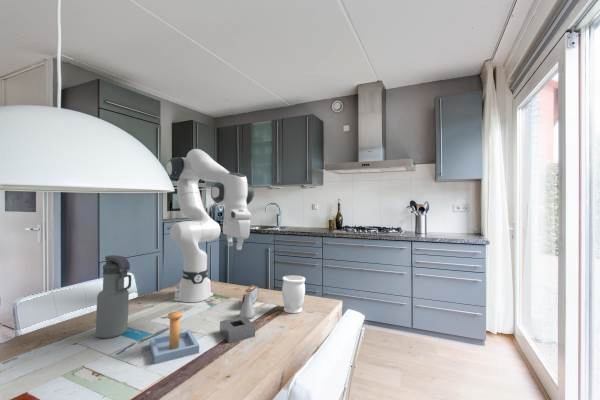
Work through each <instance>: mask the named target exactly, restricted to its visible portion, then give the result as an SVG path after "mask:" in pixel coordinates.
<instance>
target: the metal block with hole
mask: <svg viewBox="0 0 600 400" xmlns="http://www.w3.org/2000/svg"><path fill="white" fill-rule="evenodd" d="M219 333H220V334H221V335H222V336H223V338H224V339H225V341H227V343H228V344H229V343H230V342H231V343H235V342H239V341H242V340H246V339H249V338H254V337H256V325H255V324H254V323H253V322H252V321H251V320H250V319H247V318H246V317H245V316H243V317H239V316H238V317H235V318H234V317H233V318H229V319H225V320H220V321H219ZM234 341H235V342H234Z"/></svg>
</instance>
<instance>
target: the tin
mask: <svg viewBox="0 0 600 400" xmlns="http://www.w3.org/2000/svg"><path fill="white" fill-rule="evenodd" d="M245 292H251V302H252V305H254V304H256V302H257V300H258V297H259V286H258V285H254V284H252V285H251V286H249V287H248V288H247V289H245ZM245 292H244V293H245ZM244 299H245V295H244V294H243V295H242V301H241V302H242V304H241V305H243V303H244Z"/></svg>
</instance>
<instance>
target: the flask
mask: <svg viewBox="0 0 600 400" xmlns="http://www.w3.org/2000/svg"><path fill="white" fill-rule="evenodd" d="M244 295H245V299H244V303H243V304H242V306H241V309H240V311H239V315H238V317H243V316H245V317H246V318H247V319H248V320H250V319H253V318H255V317H256V313H255V312H256V311H255V310H254V307H253V305H254V304H253V305H252V302H251V292H244V293H243V296H244Z"/></svg>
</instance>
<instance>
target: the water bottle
mask: <svg viewBox="0 0 600 400" xmlns="http://www.w3.org/2000/svg"><path fill="white" fill-rule="evenodd" d="M104 261H105V264H104V265H102V275H103V276H102V290H100V292H99V293H97V295H96V296H97V297H96V315H95V316H96V321H95V335H96V337H97V338H99V339H113V338H116V337H119V336H121V335H124V334H125V332H127V330H128V327H129V326H128V325H129V324H128V322H129V299H130V298H129V297H130V296H129V295H130V294H129V293H130V292H129V289H130V288H131V287H132V275H131V274H128V271H129V270H130V268H131V265H130V262H129V260H128V258H127V257H125V256H123V255H122V256H121V255H116V254H115V255H114V254H113V255H106V256H105V257H104ZM125 278H128V285H127V286H126V287H125Z"/></svg>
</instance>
